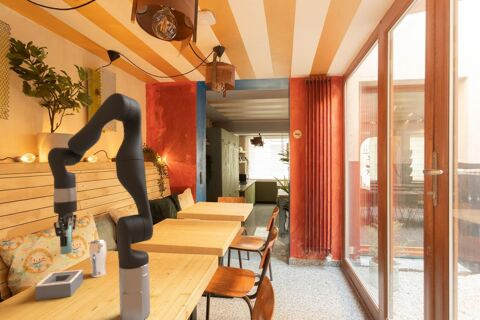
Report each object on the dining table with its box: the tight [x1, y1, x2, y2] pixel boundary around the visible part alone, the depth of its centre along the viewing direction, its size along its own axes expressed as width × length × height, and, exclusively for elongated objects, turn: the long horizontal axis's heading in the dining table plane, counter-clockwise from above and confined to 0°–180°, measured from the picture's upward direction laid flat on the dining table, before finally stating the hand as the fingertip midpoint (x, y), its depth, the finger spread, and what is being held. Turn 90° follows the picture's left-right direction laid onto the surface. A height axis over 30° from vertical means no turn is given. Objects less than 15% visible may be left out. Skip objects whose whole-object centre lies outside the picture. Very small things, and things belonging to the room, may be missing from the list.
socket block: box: [34, 269, 84, 301], centre depth 107 cm, size 12×12×5 cm
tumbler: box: [88, 238, 108, 278], centre depth 122 cm, size 7×7×15 cm
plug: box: [59, 221, 73, 255], centre depth 103 cm, size 4×4×12 cm
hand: (66, 244), depth 103 cm, fingers closed on plug, 3 cm apart
